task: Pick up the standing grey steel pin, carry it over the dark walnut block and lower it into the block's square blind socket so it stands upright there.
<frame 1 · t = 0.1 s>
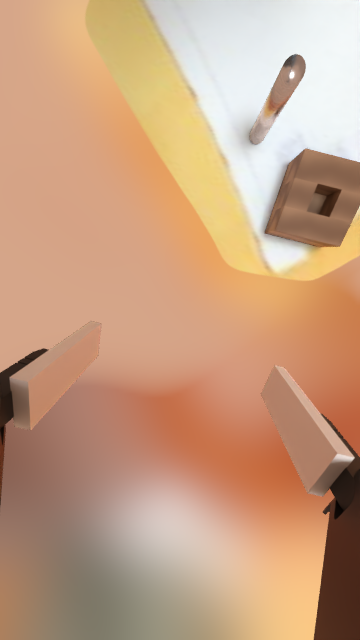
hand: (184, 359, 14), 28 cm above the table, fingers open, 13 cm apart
pin: (257, 135, 31), on the table
socket block: (305, 207, 34), on the table
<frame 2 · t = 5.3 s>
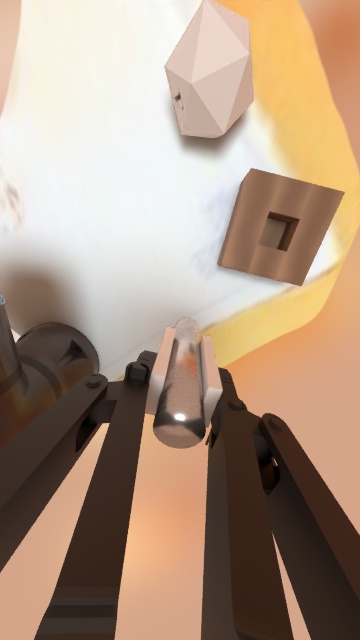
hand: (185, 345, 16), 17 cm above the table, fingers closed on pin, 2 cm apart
die: (208, 110, 24), on the table
pin: (186, 328, 20), point 13 cm above the table, touching gripper
socket block: (264, 235, 28), on the table
when the fingers open (6 cm above the table, at t = 8.4 s): pin stays where it is, resting on socket block.
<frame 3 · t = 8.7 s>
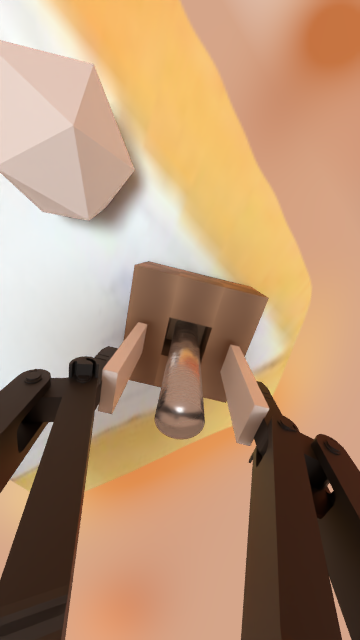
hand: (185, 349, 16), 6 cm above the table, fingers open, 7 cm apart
die: (92, 172, 18), on the table
pin: (186, 327, 20), point 2 cm above the table, touching socket block
socket block: (187, 322, 22), on the table
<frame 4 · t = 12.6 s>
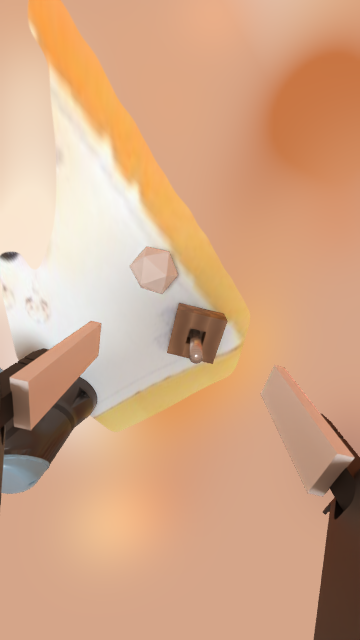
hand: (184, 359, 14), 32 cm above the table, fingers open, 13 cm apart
die: (157, 268, 43), on the table
pin: (195, 331, 46), point 2 cm above the table, touching socket block
socket block: (195, 329, 48), on the table
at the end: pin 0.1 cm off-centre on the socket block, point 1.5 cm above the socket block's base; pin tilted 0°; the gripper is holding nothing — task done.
